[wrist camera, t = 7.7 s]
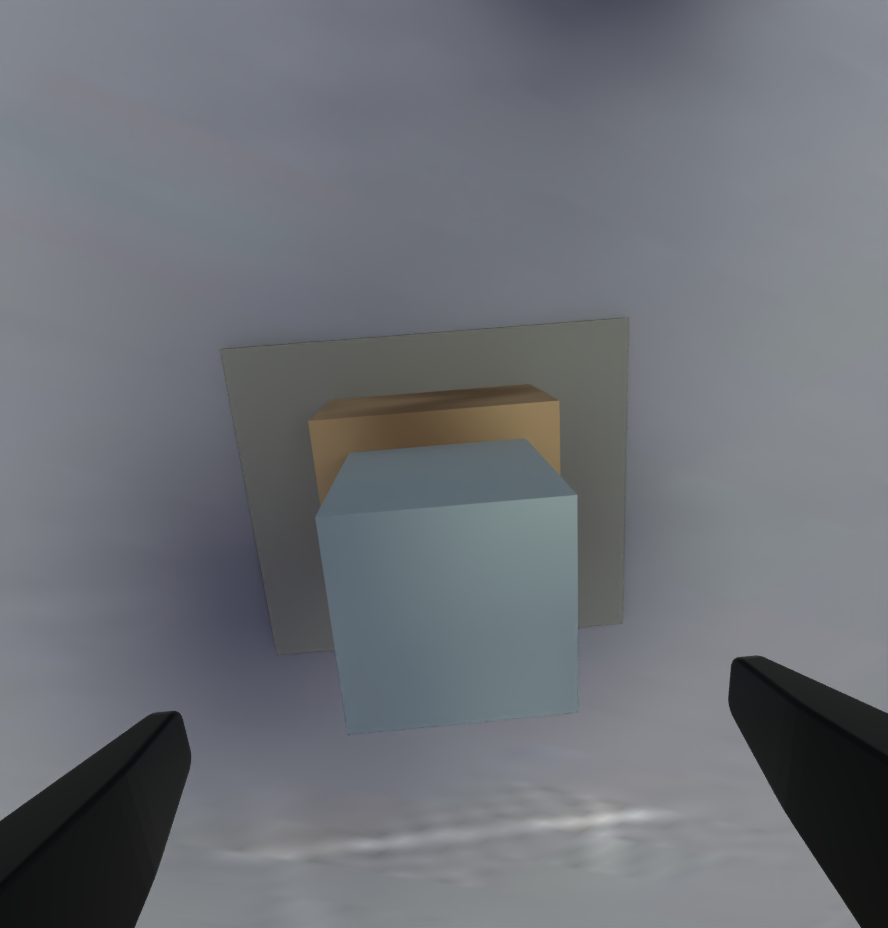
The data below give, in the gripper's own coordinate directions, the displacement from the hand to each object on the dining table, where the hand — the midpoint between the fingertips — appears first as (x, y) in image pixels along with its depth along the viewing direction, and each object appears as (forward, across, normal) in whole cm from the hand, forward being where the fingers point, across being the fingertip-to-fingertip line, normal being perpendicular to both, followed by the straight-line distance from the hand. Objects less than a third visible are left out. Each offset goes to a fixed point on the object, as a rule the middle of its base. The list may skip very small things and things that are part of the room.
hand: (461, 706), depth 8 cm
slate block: (+7, 0, 0) cm, 7 cm away
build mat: (+12, 0, 0) cm, 12 cm away
